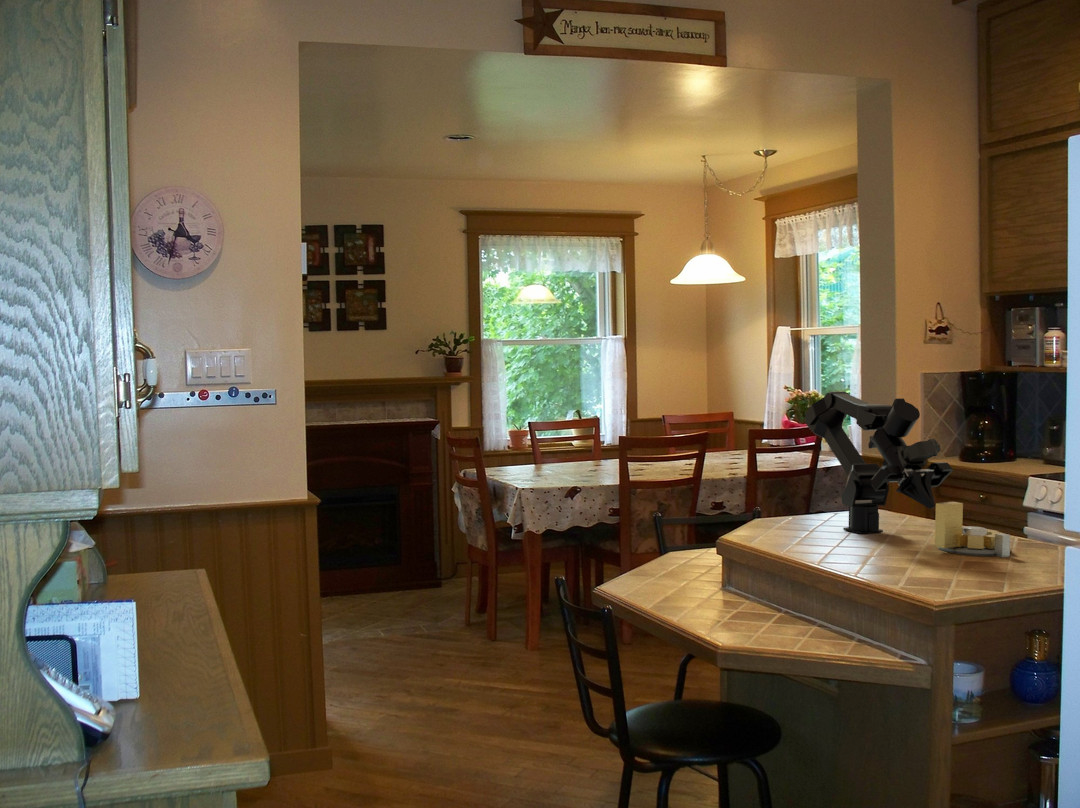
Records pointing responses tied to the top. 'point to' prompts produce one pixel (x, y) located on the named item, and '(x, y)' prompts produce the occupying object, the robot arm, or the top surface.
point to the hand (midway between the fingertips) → (932, 507)
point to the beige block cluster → (957, 529)
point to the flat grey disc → (1000, 547)
